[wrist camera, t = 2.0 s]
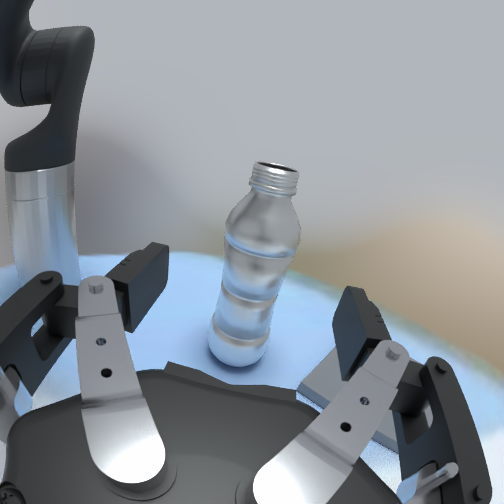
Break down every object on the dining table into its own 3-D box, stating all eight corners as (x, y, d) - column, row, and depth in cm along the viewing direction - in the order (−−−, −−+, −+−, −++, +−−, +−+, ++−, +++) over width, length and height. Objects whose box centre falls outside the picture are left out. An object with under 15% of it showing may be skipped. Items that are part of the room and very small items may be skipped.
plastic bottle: (253, 330, 33) (296, 165, 24) (271, 372, 27) (333, 184, 19) (201, 332, 31) (228, 153, 22) (211, 377, 25) (248, 168, 17)
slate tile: (296, 390, 25) (301, 381, 25) (350, 332, 35) (354, 324, 35) (415, 462, 17) (424, 456, 16) (439, 384, 27) (445, 377, 26)
